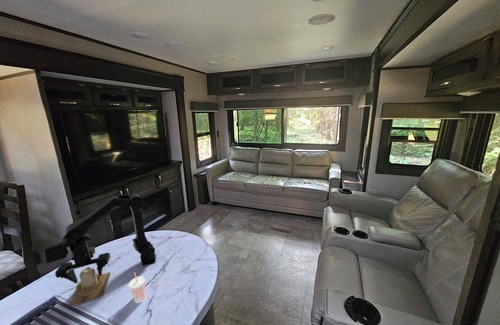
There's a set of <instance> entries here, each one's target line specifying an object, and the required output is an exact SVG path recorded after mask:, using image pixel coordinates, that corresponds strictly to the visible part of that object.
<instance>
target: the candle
mask: <svg viewBox="0 0 500 325" xmlns="http://www.w3.org/2000/svg"><path fill="white" fill-rule="evenodd" d="M79 279H80V281H81V282H82V285H83V289H87V288H90V287H92V286H93V285H95V284H96V283H97V282H98V279H97V276H96V270H95V267H91V266H89V267H86V268H83V269H82V270H81V271H80V273H79Z"/></svg>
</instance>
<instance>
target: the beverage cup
mask: <svg viewBox="0 0 500 325" xmlns="http://www.w3.org/2000/svg"><path fill="white" fill-rule="evenodd" d="M133 274H134V278H133V279H131V280H130V281H129V283H128V288H129V289H130V291H131V295H132V297H133V300H134V302H135V303H136V304H141V303H142V302H144V301H145V300H146V298H147V292H146V291H147V290H146V284H145V282H146V279H145V276H141V275H140V276H137V273H136V272H135V271H134V272H133Z"/></svg>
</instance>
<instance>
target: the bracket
mask: <svg viewBox="0 0 500 325" xmlns="http://www.w3.org/2000/svg"><path fill="white" fill-rule="evenodd" d="M96 276H97V279H98V282H97V283H96V284H95V285H93V286H92V287H90V288H87V289H83V285H82V282H81V280H80V281H78V282H77V285H76V287H75V291H74V293H73V296H72V298H71V300H70V302H69V304H68V306H69V307H72V306H76V305H81V304H82V303H85V302H89V301H92V300H96V299H98V298H101V297H104V294H105V290H106V288H107V285H108V282H109V278H110V276H111V272H109V271H108V272H106V273H102V275H101V277H100V276H99V274H98V272H97V273H96Z"/></svg>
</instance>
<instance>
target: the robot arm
mask: <svg viewBox="0 0 500 325" xmlns="http://www.w3.org/2000/svg"><path fill="white" fill-rule="evenodd" d="M143 203H144V200H143V198H142V197H141V196H140V195H139V193H137V192H134V193H133V192H132V193H130V194H121V195H113V196H110V197H109V198H108V199H107V200H105V201H104V202H103V203H102V204H100V206H97V208H95V209H94V210H93V211H91V212H90V213H89V214H88V215H86V216H84V217H83V218H80V219H77V220H75V221H74V222H72V223H70V224H68V225H67V226H66V228H65V231H64V232H65V234H64V236H63V237H62V239H61V242H58V243H56V244H52V245H49V246H46V247H44V250H43V251H44V255H45V256H44V257H45V262H46V264H48V265H49V264H52V263H55V262H57V261H59V260H62V259H65V258H67V257H68V255H69V254H70V253H71V256H72V257H71V261H68V262H63V263H60V264H59V266H58V268H57V269H56V271H55V273H54V275H55V278H60V279H66V280H68V281H70V282H72V283H74V284H78V283H79V281H78V277H77V275H76V272H75V269H80V268H84V267H86V266H90V265H94V264H96V266H97V267H96V271H97V274H99V276H100V277H101V275H102V274H103V268H105V267H106V266H107V265H108V263H109V262H110V259H111V253H109V252H105V253H104V252H103V253H101V254H98V256H97V257H96V258H94V254H96V247H95V246H90V247H89V245H88V241H89V240H91V239H92V237H91V234H89V233H87V232H88V231H89V230H90V228H91V227H92V226H93V225H94V224H95V223H96V222H98V221H99V220H101V219H102V218H103V217H104V216H106V215H107V214H108V213H109V212H111V211H113V210H114V208H116V207H123V208H124V207H125V208H126V207H127V208H130V211H131V216H132V221H133V226H134V231H135V232H134V233H135V237H134V238H132V242H133V245H132V247H133V248H134V250H135V251H136V252H137V253H138V254H139V255H140V256H139V258H140V261H141V262H140V263H141V265H142V266H146V265H151V264H153V263H156V261H157V254H156V253H155V252H156V247H154V245H153V244H152V243H151V241H149V240H148V239H147V235H146V233H145V227H144V226H145V225H144V220H143V215H142V211H143V207H144V206H143V205H144V204H143ZM69 249H70V250H69ZM73 262H74V264H73Z"/></svg>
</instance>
